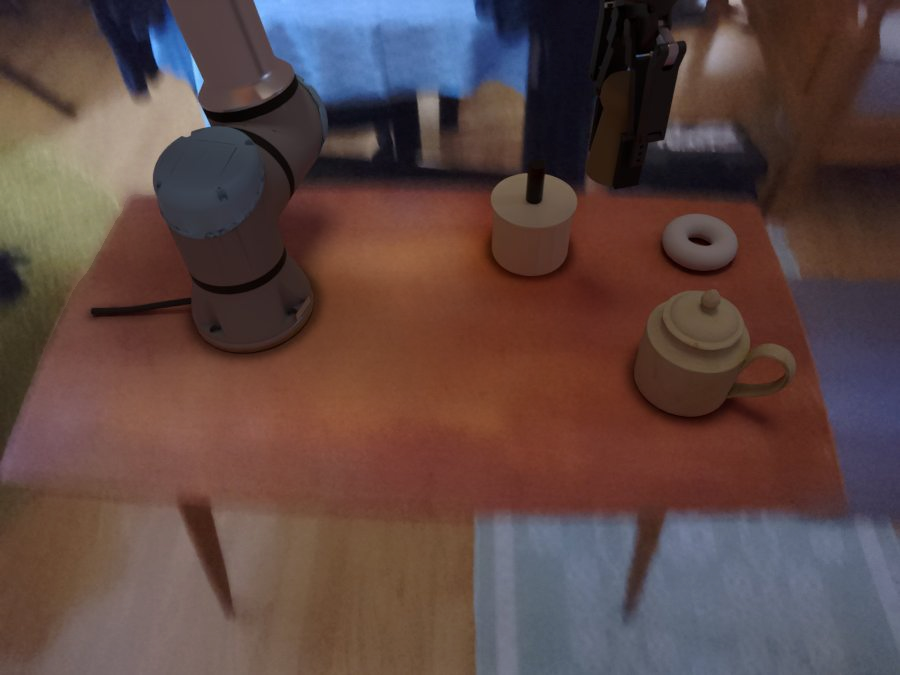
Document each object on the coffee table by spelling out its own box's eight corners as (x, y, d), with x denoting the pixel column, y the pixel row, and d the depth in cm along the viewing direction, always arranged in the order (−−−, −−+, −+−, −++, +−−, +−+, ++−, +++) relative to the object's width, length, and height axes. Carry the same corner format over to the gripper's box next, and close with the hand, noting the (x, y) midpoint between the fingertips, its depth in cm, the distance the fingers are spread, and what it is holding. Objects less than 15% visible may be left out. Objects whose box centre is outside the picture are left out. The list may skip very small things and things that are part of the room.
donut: (666, 277, 91) (742, 275, 91) (672, 258, 89) (750, 257, 88) (653, 227, 98) (724, 226, 97) (658, 208, 95) (731, 207, 95)
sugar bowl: (756, 350, 83) (802, 260, 71) (769, 427, 76) (823, 341, 64) (631, 338, 84) (657, 248, 73) (633, 412, 78) (662, 325, 66)
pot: (506, 283, 91) (508, 235, 85) (482, 233, 98) (483, 185, 91) (578, 267, 93) (586, 219, 86) (550, 219, 99) (556, 171, 93)
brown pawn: (608, 193, 73) (625, 100, 65) (574, 165, 77) (586, 73, 68) (651, 174, 75) (673, 82, 67) (616, 148, 79) (633, 56, 70)
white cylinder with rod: (506, 241, 85) (509, 199, 80) (479, 188, 92) (480, 146, 87) (590, 224, 87) (597, 181, 82) (557, 173, 94) (562, 130, 89)
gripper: (754, -20, 53) (683, 214, 70) (647, -102, 65) (610, 116, 82) (664, -7, 52) (615, 227, 69) (573, -93, 63) (551, 126, 81)
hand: (612, 167), depth 76 cm, fingers closed on brown pawn, 6 cm apart
